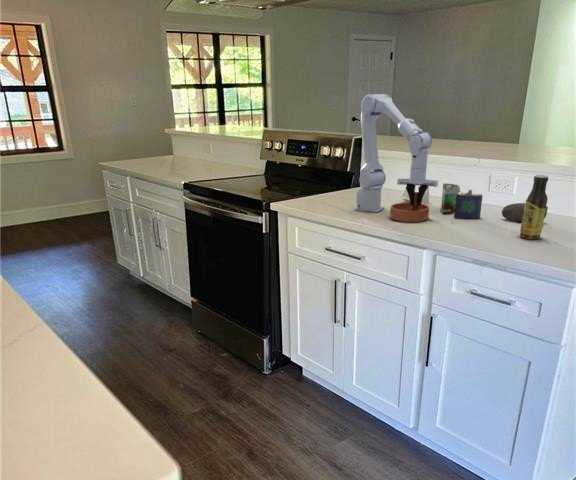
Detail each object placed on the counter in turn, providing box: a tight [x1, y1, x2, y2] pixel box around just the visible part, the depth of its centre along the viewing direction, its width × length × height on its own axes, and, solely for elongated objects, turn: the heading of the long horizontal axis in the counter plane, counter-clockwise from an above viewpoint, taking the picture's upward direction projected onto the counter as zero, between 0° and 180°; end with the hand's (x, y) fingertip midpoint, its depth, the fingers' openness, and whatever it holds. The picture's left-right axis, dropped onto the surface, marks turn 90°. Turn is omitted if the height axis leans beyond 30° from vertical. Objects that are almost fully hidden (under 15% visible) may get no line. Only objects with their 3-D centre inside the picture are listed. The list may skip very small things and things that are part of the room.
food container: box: [440, 182, 461, 215], centre depth 199 cm, size 12×6×10 cm, turn 168°
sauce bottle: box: [519, 174, 549, 240], centre depth 160 cm, size 7×6×20 cm
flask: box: [454, 189, 483, 220], centre depth 188 cm, size 9×3×11 cm, turn 74°
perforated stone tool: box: [501, 202, 549, 223], centre depth 182 cm, size 15×5×7 cm, turn 51°
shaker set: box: [400, 177, 430, 205], centre depth 215 cm, size 12×4×11 cm, turn 48°
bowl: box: [389, 202, 430, 223], centre depth 192 cm, size 14×14×4 cm
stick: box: [412, 191, 419, 211], centre depth 189 cm, size 2×2×8 cm
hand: (415, 204), depth 190 cm, fingers closed on stick, 2 cm apart
